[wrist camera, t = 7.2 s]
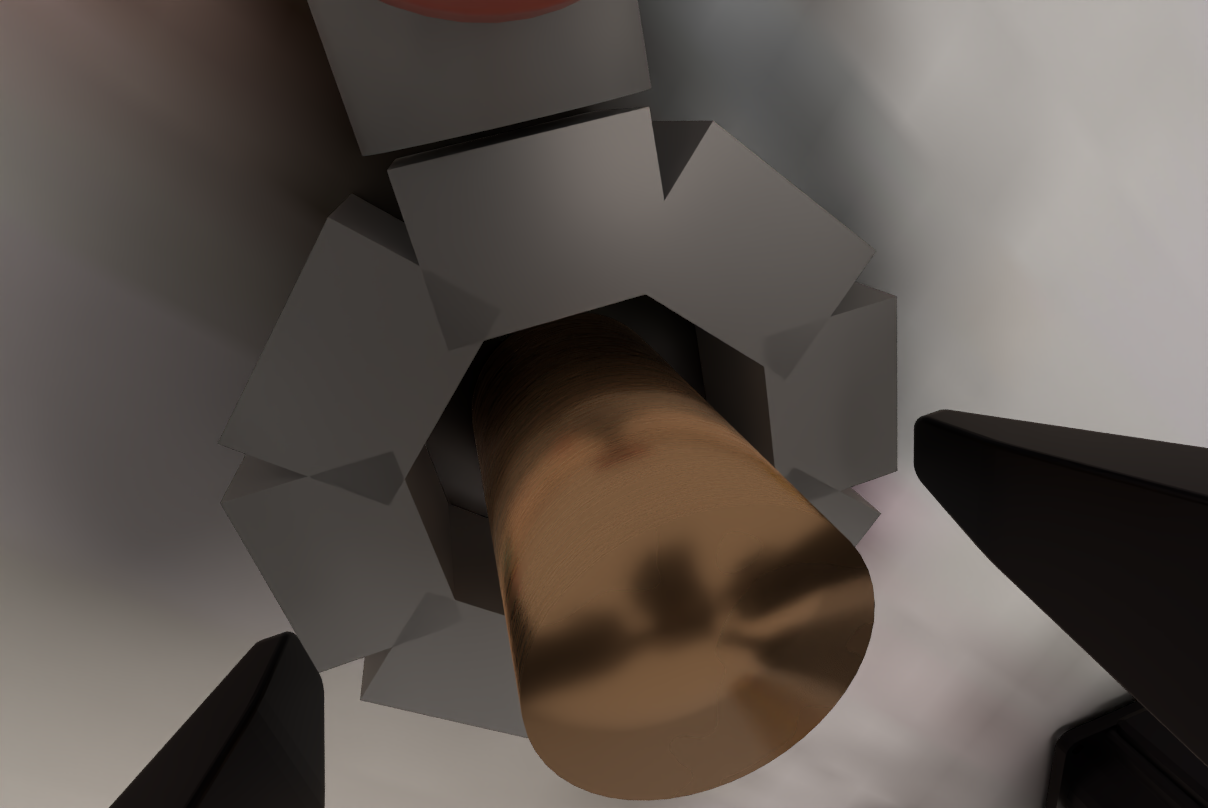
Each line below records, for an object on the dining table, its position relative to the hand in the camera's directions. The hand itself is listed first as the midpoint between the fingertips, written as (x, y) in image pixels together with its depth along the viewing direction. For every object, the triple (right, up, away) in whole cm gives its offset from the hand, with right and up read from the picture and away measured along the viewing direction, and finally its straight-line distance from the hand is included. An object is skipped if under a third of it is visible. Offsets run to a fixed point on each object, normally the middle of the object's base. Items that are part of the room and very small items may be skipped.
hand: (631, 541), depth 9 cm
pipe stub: (-1, +2, +4) cm, 5 cm away
